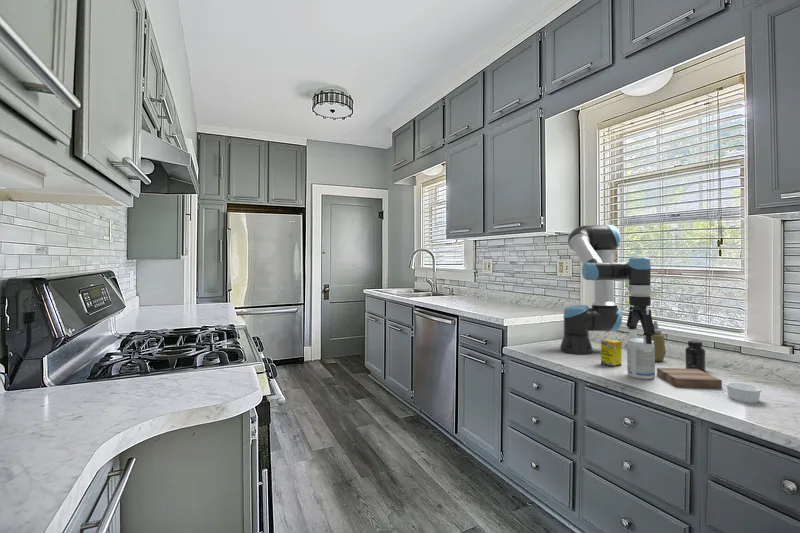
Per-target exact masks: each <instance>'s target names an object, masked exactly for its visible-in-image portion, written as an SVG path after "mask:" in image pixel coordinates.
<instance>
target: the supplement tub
mask: <svg viewBox="0 0 800 533" xmlns="http://www.w3.org/2000/svg"><path fill="white" fill-rule="evenodd" d="M626 359H627V360H626V364H627V370H626V371H627V375H628V376H629V377H631V378H633V379H634V378H635V379H638V380H639V379H640V380H653V379H655V377H656V361H655V349H654V341H652V352H644V340H643V338H638V337H637V338H631V339H629V338H628V339H627V340H626Z"/></svg>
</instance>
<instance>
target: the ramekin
mask: <svg viewBox="0 0 800 533" xmlns="http://www.w3.org/2000/svg"><path fill="white" fill-rule="evenodd" d="M725 385H726V390H727V397H728V398H730V399H731V400H734V401H738V402H741V403H748V404H756V403H759V402H760V396H761V392H762V389H761V388H760V387H758V386H755V385H753V384H748V383H742V382H727V383H726V384H725Z"/></svg>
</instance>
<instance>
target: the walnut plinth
mask: <svg viewBox="0 0 800 533" xmlns="http://www.w3.org/2000/svg"><path fill="white" fill-rule="evenodd" d="M656 376H657V377H659V378H661V379H663V380H664V381H666V382H668V383H669V384H671V385H672V386H674V387H676V388H691V389H692V388H695V389H719V390H720V389H723V388H722V387H723V380H722V379H719V378H717V377H715V376H713V375H711V374H709V373H708V372H705V371H701V370H699V369H686V368H676V367H675V368H674V367H673V368H671V367H669V368H668V367H657V368H656Z"/></svg>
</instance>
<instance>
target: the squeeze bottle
mask: <svg viewBox="0 0 800 533" xmlns="http://www.w3.org/2000/svg"><path fill="white" fill-rule="evenodd" d="M653 325H654V330H655V335H652V341H654V349H655V362H663V361H664V359H665V356H666V354H667V352H666V344H665V336H664V334H663V333H662V330H661V329H660V328H659V324H658V321H653Z"/></svg>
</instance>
